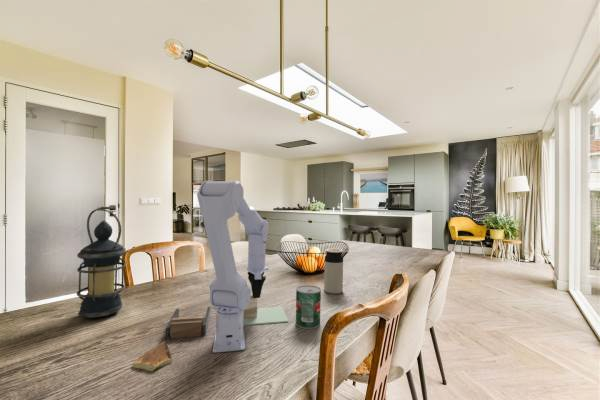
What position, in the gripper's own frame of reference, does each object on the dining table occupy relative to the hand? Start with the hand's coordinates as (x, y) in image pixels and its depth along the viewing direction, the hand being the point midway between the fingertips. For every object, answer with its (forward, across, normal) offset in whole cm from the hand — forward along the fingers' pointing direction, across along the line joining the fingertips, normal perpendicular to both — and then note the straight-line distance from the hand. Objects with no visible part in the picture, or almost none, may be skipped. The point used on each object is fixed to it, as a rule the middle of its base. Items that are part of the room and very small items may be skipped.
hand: (255, 295), depth 92 cm
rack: (+7, -3, +20) cm, 21 cm away
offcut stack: (+7, -8, +20) cm, 23 cm away
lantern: (+7, +11, +50) cm, 52 cm away
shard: (+8, -20, +26) cm, 34 cm away
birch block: (+7, 0, +4) cm, 8 cm away
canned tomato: (+7, -8, -16) cm, 19 cm away
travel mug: (+7, +21, -35) cm, 41 cm away
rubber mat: (+7, 0, 0) cm, 7 cm away
